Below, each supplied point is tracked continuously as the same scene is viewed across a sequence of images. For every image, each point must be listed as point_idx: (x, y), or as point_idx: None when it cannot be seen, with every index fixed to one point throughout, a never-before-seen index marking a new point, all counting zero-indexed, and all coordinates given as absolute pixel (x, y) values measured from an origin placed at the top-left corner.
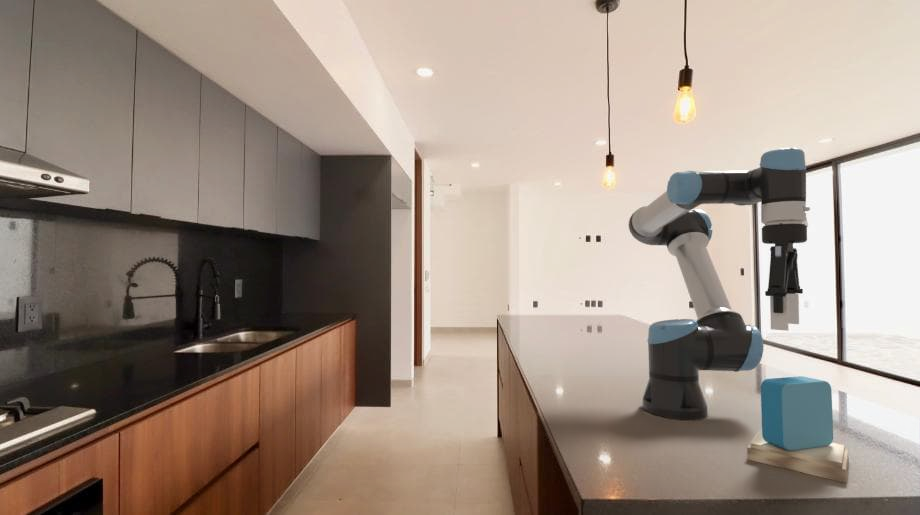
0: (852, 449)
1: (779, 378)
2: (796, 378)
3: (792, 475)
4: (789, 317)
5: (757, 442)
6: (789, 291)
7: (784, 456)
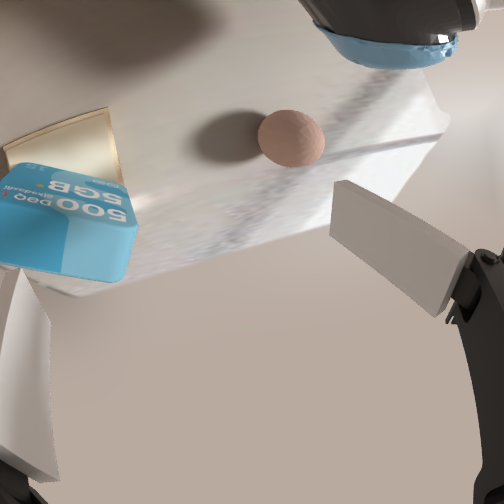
0: (198, 204)
1: (31, 218)
2: (72, 238)
3: None
4: (352, 217)
5: (18, 154)
6: (467, 285)
7: None
